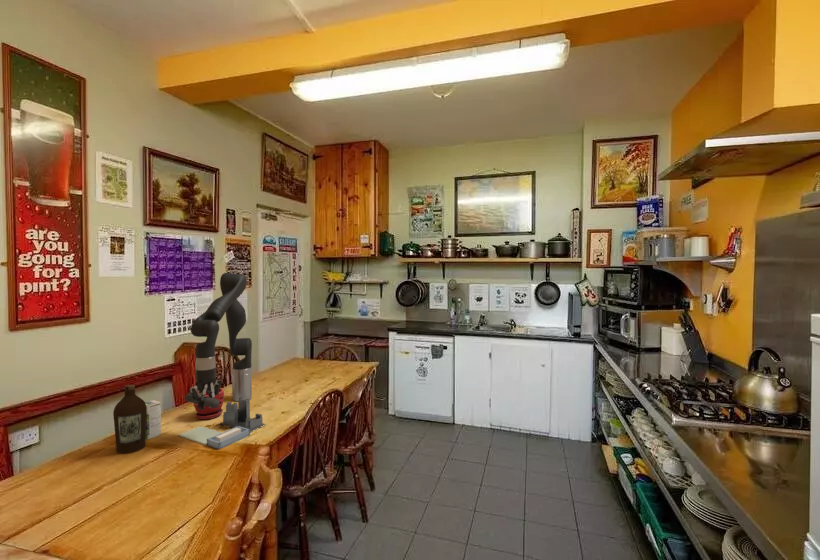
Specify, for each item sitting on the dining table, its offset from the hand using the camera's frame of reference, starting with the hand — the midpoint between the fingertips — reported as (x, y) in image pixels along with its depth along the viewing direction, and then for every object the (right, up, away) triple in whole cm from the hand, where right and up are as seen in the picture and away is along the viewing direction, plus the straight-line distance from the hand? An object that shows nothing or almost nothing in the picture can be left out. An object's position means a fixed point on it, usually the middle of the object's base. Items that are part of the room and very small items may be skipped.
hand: (206, 407), depth 162 cm
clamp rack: (+10, -12, +13) cm, 20 cm away
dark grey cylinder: (-3, +1, +1) cm, 3 cm away
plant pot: (-11, -12, +24) cm, 29 cm away
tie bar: (+11, -12, -3) cm, 16 cm away
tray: (+11, -13, -3) cm, 17 cm away
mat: (-2, -13, +2) cm, 13 cm away
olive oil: (-25, -13, -10) cm, 30 cm away
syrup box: (-24, -13, +1) cm, 28 cm away
